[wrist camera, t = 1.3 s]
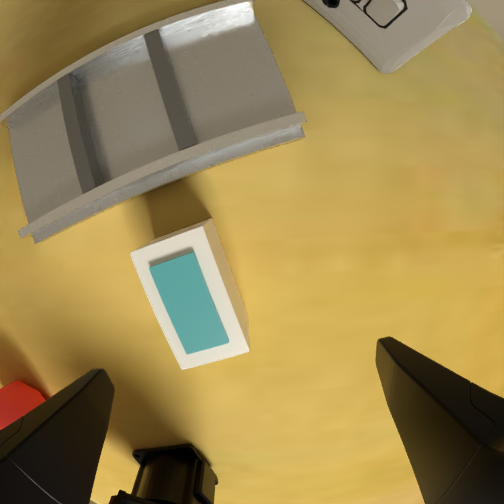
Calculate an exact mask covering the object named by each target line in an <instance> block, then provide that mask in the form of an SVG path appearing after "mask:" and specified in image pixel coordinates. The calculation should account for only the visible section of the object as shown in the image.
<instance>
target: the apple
mask: <svg viewBox="0 0 504 504" xmlns="http://www.w3.org/2000/svg"><path fill="white" fill-rule="evenodd" d="M44 401H46V400H45V398H44V397H43V395H42V394H41V392H40V391H38V390H36V389H34V388H32V387H30V386H28V385H26V384H24V383H22V382H21V381H19V380H16V381H14V382H12V383H10V384H8V385H7V386H5V387H3V388H1V389H0V430H1V429H3V428H5V427H6V426H8V425H10V424H11V423H13V422H14V421H16V420H17V419H19V418H20V417H22V416H24V415H25V414H26V413H28V412H29V411H31V410H32V409H34V408H35V407H37V406H38V405H40V404H41V403H43V402H44Z"/></svg>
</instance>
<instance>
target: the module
mask: <svg viewBox="0 0 504 504" xmlns="http://www.w3.org/2000/svg"><path fill="white" fill-rule="evenodd" d="M130 255H131V258H132V260H133V263H134V266H135V268H136V271H137V273H138V276H139V278H140V281H141V283H142V285H143V288H144V290H145V292H146V295H147V297H148V299H149V302H150V304H151V306H152V309H153V311H154V313H155V315H156V318H157V320H158V322H159V324H160V326H161V328H162V331H163V333H164V335H165V337H166V339H167V341H168V343H169V345H170V347H171V349H172V351H173V353H174V355H175V357H176V359H177V361H178V363H179V365H180V367H181V369H182V370H184V369H188V368H192V367H196V366H200V365H204V364H207V363H211V362H215V361H219V360H222V359H226V358H229V357H233V356H236V355H240V354H243V353H247V352H250V342H249V324H248V315H247V312H246V309H245V307H244V304H243V301H242V299H241V296H240V293H239V291H238V288H237V285H236V282H235V280H234V277H233V274H232V271H231V269H230V266H229V263H228V260H227V258H226V255H225V252H224V249H223V247H222V244H221V241H220V238H219V235H218V233H217V230H216V227H215V224H214V221H213V218H211V219H208V220H205V221H202V222H199V223H197V224H194V225H191V226H188V227H185V228H183V229H180V230H177V231H175V232H172V233H169V234H166V235H164V236H161V237H158V238H156V239H154V240H152V241H150V242H148V243H147V244H145V245H143V246H141V247H139V248H138V249H136V250H134V251H132V252H130Z"/></svg>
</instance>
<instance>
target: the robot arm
mask: <svg viewBox="0 0 504 504" xmlns="http://www.w3.org/2000/svg"><path fill="white" fill-rule="evenodd" d="M376 366H377V370H378V373H379V377H380V380H381V383H382V387H383V390H384V394H385V398H386V401H387V405H388V407H389V410H390V412H391V415H392V417H393V420H394V422H395V425H396V427H397V430H398V432H399V435H400V437H401V440H402V442H403V445H404V447H405V450H406V452H407V455H408V458H409V460H410V463H411V466H412V468H413V471H414V474H415V476H416V479H417V482H418V485H419V488H420V490H421V493H422V496H423V499H424V502H425V504H504V398H502V397H500V396H498V395H495V394H493V393H491V392H489V391H487V390H485V389H484V388H482V387H480V386H478V385H476V384H474V383H473V382H471V383H470V381H469V380H467V379H465V378H463V377H462V376H460V375H458V374H456V373H455V372H453V371H451V370H449V369H447V368H446V367H444V366H442V365H440V364H439V363H437V362H435V361H433V360H431V359H430V358H428V357H426V356H424V355H423V354H421V353H419V352H417V351H415V350H414V349H412V348H410V347H408V346H407V345H405V344H403V343H401V342H399V341H398V340H396V339H394V338H392V337H390V336H389V337H384V338H380V339H378V341H377V347H376ZM114 392H115V389H114V385H113V383H112V382H111V380H110V378H109V376H108V374H107V372H106V371H105V370H104V369H100V368H95V369H92V370H90V371H89V372H87V373H86V374H85V375H83V376H82V377H80V378H79V379H77V380H76V381H74V382H73V383H71V384H70V385H68V386H67V387H65V388H64V389H62V390H61V391H59V392H58V393H56V394H55V395H53V396H52V397H50V398H49V399H47V400H46V401H44V402H43V403H41V404H40V405H38V406H37V407H35V408H34V409H32V410H31V411H29V412H28V413H26V414H25V415H24V416H22V417H20V418H19V419H17V420H16V421H14V422H13V423H11V424H10V425H8V426H6V427H5V428H3V429H1V430H0V504H89V502H90V497H91V493H92V488H93V484H94V480H95V475H96V471H97V467H98V463H99V459H100V455H101V451H102V448H103V444H104V440H105V437H106V433H107V429H108V425H109V420H110V414H111V408H112V403H113V398H114ZM132 455H133V457H134V458H135V459H136V460H137V462H138V463H139V464H140V468H139V471H138V474H137V477H136V480H135V483H134V486H133V490H132V493H131V494H128V493H126V492H125V491H122V490H119V492H118V495H117V496H116V495H115V496H111V499H110V502H109V504H214V493H215V485H217V484H218V479H217V478H216V475H215V473H214V472H213V470H212V469H211V468H210V466H209V465H208V464H207V462H206V461H205V460H203V459H202V457H201V456H200V455H199V453H198V452H197V451H196V449H195V448H194V446H192V445H190V444H185V445H178V446H170V447H162V448H153V449H142V450H134V451H133V454H132Z"/></svg>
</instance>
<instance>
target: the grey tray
mask: <svg viewBox="0 0 504 504" xmlns="http://www.w3.org/2000/svg"><path fill="white" fill-rule="evenodd" d="M253 11H254V0H224V1H220V2H216V3H213V4H209V5H206V6H202V7H199V8H196V9H193V10H189V11H186V12H183V13H180V14H177V15H175V16H172V17H169V18H166V19H164V20H161V21H158V22H156V23H153V24H151V25H148V26H146V27H143V28H141V29H139V30H136V31H134V32H132V33H130V34H128V35H125V36H123V37H121V38H119V39H117V40H115V41H113V42H111V43H109V44H107V45H105V46H103V47H101V48H99V49H97V50H95V51H93V52H91V53H90V54H88V55H86V56H84V57H83V58H81V59H79V60H77V61H76V62H74V63H72V64H71V65H69V66H67V67H66V68H64V69H62V70H61V71H59V72H58V73H56V74H55V75H53V76H52V77H50V78H49V79H47V80H46V81H44V82H43V83H41V84H40V85H38V86H37V87H35V88H34V89H33V90H31V91H30V92H29V93H27V94H26V95H25V96H23V97H22V98H21V99H19V100H18V101H17V102H15V103H14V104H13V105H12V106H10V107H9V108H8V109H7V110H5V111H4V112H3V113H2V114H1V115H0V126H4V127H8V128H9V136H10V143H11V149H12V155H13V160H14V166H15V171H16V175H17V180H18V185H19V189H20V193H21V197H22V201H23V205H24V209H25V212H26V216H27V220H28V223H29V224H28V225H26V226H25V227H23V228H22V229H20V230H18V232H19V236H20V239H21V238H25V237H29V236H33V239H34V242H35V244H37V243H40V242H43V241H45V240H47V239H49V238H50V237H52V236H54V235H56V234H58V233H60V232H62V231H64V230H66V229H68V228H70V227H72V226H74V225H76V224H78V223H80V222H83V221H85V220H87V219H89V218H91V217H93V216H95V215H97V214H100V213H102V212H104V211H106V210H108V209H111V208H113V207H115V206H117V205H120V204H122V203H124V202H126V201H129V200H131V199H133V198H136V197H138V196H140V195H143V194H145V193H148V192H150V191H152V190H155V189H157V188H160V187H162V186H165V185H167V184H170V183H173V182H175V181H178V180H180V179H183V178H186V177H188V176H191V175H193V174H196V173H199V172H202V171H204V170H207V169H210V168H213V167H216V166H218V165H221V164H224V163H227V162H230V161H233V160H236V159H239V158H242V157H245V156H248V155H251V154H254V153H257V152H261V151H264V150H267V149H270V148H273V147H277V146H280V145H284V144H287V143H290V142H294V141H297V140H301V139H303V138H304V137H305V135H304V132H303V129H302V126H303V125H304V124H305V122H306V118H305V115H304V113H303V112H300V113H296V110H295V108H294V105H293V102H292V100H291V97H290V95H289V92H288V90H287V87H286V85H285V82H284V80H283V77H282V75H281V72H280V70H279V68H278V65H277V63H276V60H275V58H274V56H273V53H272V51H271V49H270V47H269V44H268V42H267V40H266V38H265V35H264V33H263V31H262V29H261V27H260V25H259V22H258V20H257V18H256V16H255V14H254V12H253Z"/></svg>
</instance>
